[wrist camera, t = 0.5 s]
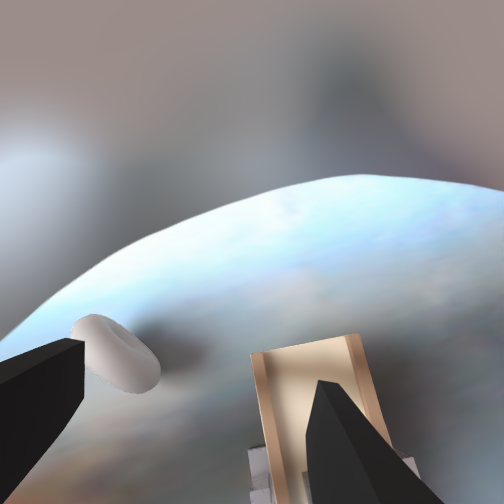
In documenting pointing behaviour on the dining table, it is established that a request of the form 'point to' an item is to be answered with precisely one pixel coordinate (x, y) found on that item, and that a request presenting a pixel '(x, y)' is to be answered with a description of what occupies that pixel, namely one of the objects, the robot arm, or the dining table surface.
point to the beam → (306, 401)
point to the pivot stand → (262, 479)
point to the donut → (117, 354)
